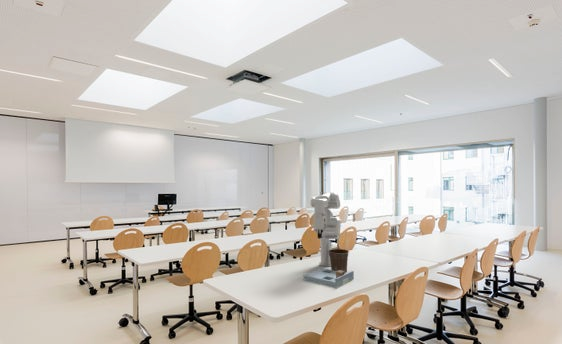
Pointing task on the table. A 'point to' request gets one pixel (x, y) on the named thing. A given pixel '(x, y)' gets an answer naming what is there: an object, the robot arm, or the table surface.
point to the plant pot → (338, 259)
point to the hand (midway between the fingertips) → (319, 238)
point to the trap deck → (328, 277)
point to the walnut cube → (339, 273)
